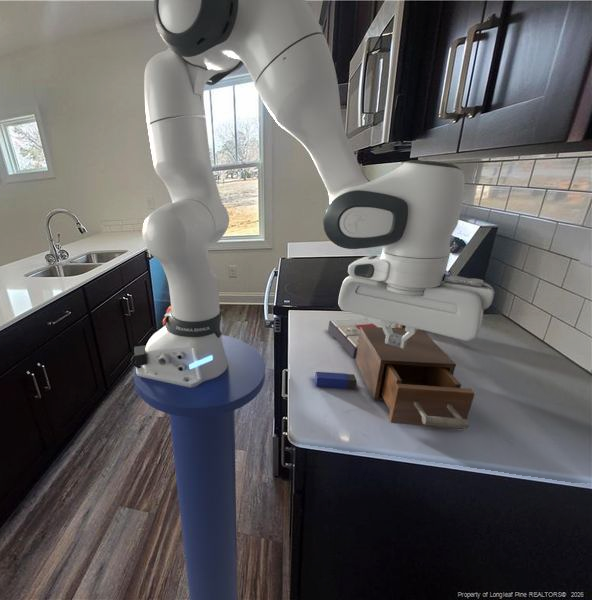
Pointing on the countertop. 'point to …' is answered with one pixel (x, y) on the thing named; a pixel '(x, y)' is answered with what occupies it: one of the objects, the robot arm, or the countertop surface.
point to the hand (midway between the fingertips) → (395, 344)
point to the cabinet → (395, 355)
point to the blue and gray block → (335, 380)
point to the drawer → (425, 396)
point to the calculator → (348, 332)
